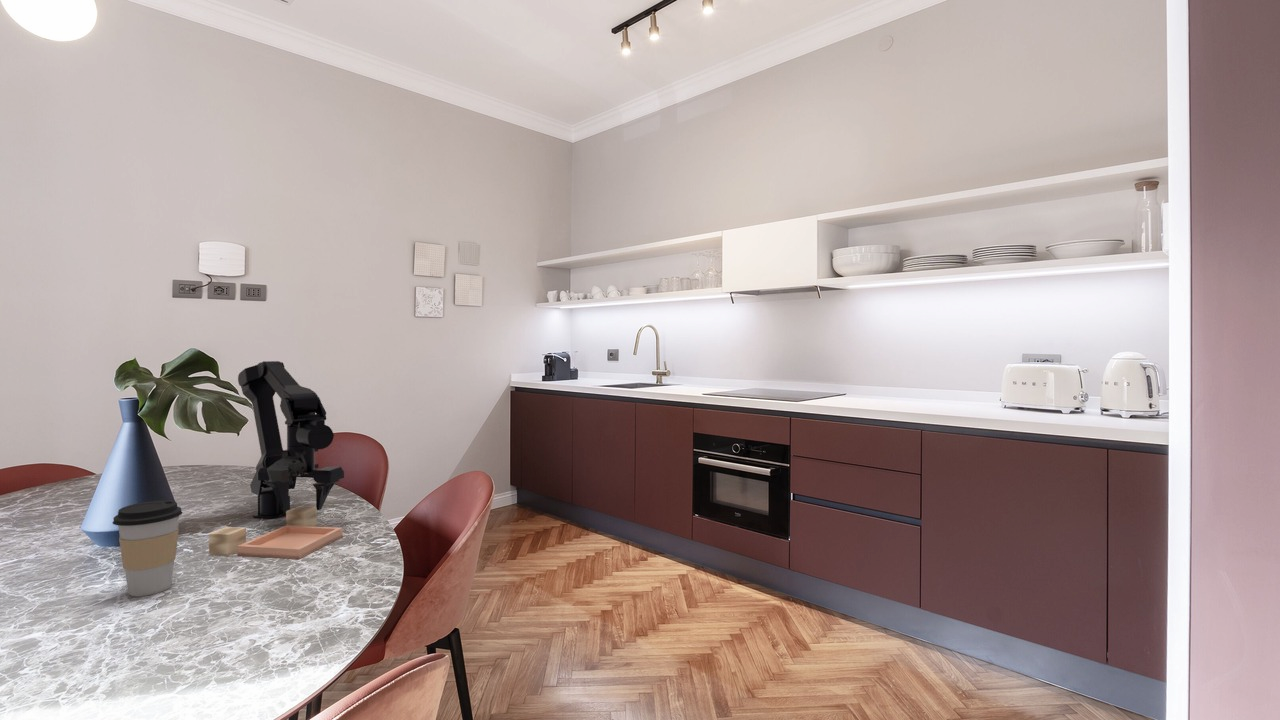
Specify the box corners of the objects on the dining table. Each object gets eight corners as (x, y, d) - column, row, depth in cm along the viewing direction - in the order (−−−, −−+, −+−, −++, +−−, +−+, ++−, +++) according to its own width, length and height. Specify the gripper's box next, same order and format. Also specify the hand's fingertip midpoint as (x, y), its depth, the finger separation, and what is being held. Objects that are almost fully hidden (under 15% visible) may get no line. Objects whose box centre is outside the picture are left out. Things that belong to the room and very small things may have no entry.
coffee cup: (196, 580, 106) (195, 500, 106) (148, 602, 97) (147, 515, 97) (150, 577, 107) (149, 498, 107) (98, 599, 98) (96, 513, 97)
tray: (237, 555, 119) (237, 546, 119) (286, 533, 133) (286, 525, 133) (299, 559, 117) (299, 549, 117) (342, 536, 131) (342, 527, 131)
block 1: (209, 555, 119) (208, 533, 119) (227, 547, 124) (226, 526, 124) (228, 556, 119) (228, 534, 119) (246, 548, 123) (245, 527, 123)
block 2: (286, 529, 136) (286, 511, 136) (299, 524, 140) (299, 505, 140) (303, 530, 135) (303, 511, 135) (316, 524, 140) (316, 506, 139)
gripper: (238, 449, 130) (238, 517, 131) (314, 451, 128) (314, 521, 128) (274, 441, 141) (275, 503, 142) (345, 443, 139) (345, 507, 140)
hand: (301, 509), depth 138 cm, fingers open, 9 cm apart
